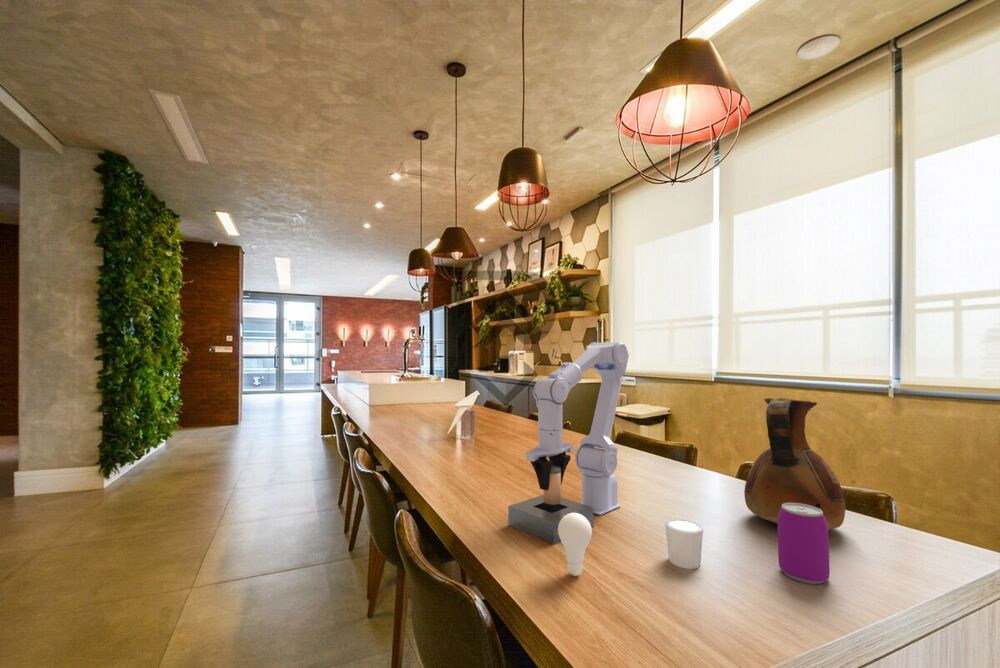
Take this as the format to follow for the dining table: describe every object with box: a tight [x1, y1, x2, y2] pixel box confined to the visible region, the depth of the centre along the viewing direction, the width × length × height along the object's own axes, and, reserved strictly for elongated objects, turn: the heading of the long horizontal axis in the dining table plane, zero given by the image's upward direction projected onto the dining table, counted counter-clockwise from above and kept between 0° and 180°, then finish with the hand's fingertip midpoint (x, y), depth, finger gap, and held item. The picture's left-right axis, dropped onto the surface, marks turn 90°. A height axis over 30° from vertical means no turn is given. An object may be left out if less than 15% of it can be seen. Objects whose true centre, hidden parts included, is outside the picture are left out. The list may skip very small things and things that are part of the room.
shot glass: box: [664, 518, 704, 570], centre depth 85 cm, size 7×7×7 cm
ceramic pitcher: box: [743, 397, 846, 531], centre depth 104 cm, size 20×20×30 cm
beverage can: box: [777, 503, 831, 585], centre depth 80 cm, size 8×8×12 cm
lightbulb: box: [558, 513, 593, 577], centre depth 80 cm, size 6×6×11 cm
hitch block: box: [507, 494, 594, 545], centre depth 102 cm, size 14×14×4 cm
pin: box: [542, 465, 562, 505], centre depth 102 cm, size 4×4×8 cm
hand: (550, 487), depth 103 cm, fingers closed on pin, 4 cm apart
